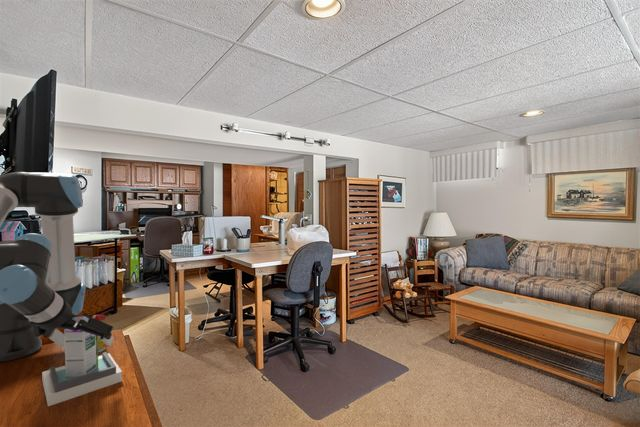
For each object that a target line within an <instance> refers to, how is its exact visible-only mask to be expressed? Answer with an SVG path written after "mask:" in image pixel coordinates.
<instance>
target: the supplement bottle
mask: <svg viewBox="0 0 640 427" xmlns="http://www.w3.org/2000/svg"><path fill="white" fill-rule="evenodd" d="M97 340H98V353H101V352H103V351H105V350H106V348H107V345H106V344H105V343H104V342H103V341H102V340H100V339H99V338H98V336H97Z"/></svg>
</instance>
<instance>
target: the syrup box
mask: <svg viewBox="0 0 640 427" xmlns="http://www.w3.org/2000/svg"><path fill="white" fill-rule="evenodd" d="M77 324H78V322H76V323H75V325H74V327H76V326H77ZM63 330H64V332H63V334H64V338H65V345H64V358H65V359H64V361H65V364H64V366H65V368H66V377H79V376H83V375H86V374H89V373H91V372H92V371H93V370H95V369H96V368H98V356H99V352H98V340H97V335H94V334H90V333H87V332H84V331H80V330H77V331H73V330H70V329H63Z"/></svg>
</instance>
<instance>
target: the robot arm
mask: <svg viewBox="0 0 640 427" xmlns="http://www.w3.org/2000/svg"><path fill="white" fill-rule="evenodd" d="M83 200H84V199H83V192H82V188H81V183H80V180H79V178H78V177H77V176H75V175H73V174H69V173H68V174H66V173H60V172H59V173H58V172H57V173H56V172H54V173H52V172H29V171H28V172H26V171H16V172H15V171H14V172H9V173H5V174H2V175H0V228H1V226H3V224H4V222H5V220H6V218H7V216H8V214H9V213H11V212H12V211H15V209H16V208H34V212H35V213H34V214H36V215H37V216H39V217H40V218H41V228H42V229H41V230H42V234H40V233H34V232H33V233H31V232H29V233H25V234H21V235H19V236H17V237H16V238H15V239H14V241H13V242H12V243H0V363H3V362H8V361H13V360H18V359H21V358H24V357H27V356H30V355H31V354H34V353H36V352H38V351H39V350H40V349H41V348H42V346H43V345H42V344H43V342H42V340H43V339H42V338H41V336H42V337H43V338H48V339H50V340H51V341H52V342H54V343H55V344H56V345H58V346H59V347H61V348H62V347H64V348H65V338H64V332H61V331H60V330H62V329H63V330H64V329H70V330H73V331H77V330H80V331H84V332H87V333H90V334H94V335H97V336H98V338H99V339H100V340H102V341H103V342H104V343H105V344H106V347H107V346H108V347H112V343H113V340H114V338H115V336H113V334H112V330H113V328H114V326H113V325H110V324H108V323H107V322H103V321H99V320H97V319H95V318H92V315H91V316H90V314H88V313H83V314H81V316H79V315H80V313H82V311H83V308H84V302H85V296H86V289H87V288H86V287H87V283H86V282H82V279H81V278H80V277H79V276H77V275H76V274H77V272H76V256H75V254H76V253H75V252H76V251H75V235H74V234H75V232H74V216H75V215H76V214H77V213H78V212H79V209H80V208H82V207H83V206H84V201H83ZM77 322H78V324H77V326H76V327H74V325H75V324H76V323H77ZM59 329H60V330H59Z"/></svg>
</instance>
